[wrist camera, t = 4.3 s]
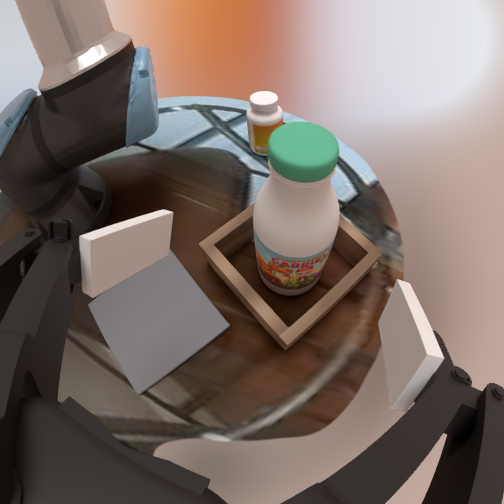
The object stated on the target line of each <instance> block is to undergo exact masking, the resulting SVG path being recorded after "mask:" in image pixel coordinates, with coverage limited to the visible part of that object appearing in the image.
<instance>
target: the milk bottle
mask: <svg viewBox="0 0 504 504" xmlns="http://www.w3.org/2000/svg"><path fill="white" fill-rule="evenodd" d="M338 155H339V146H338V142H337V140H336V138H335V137H334V135H333V134H332V133H330V132H329V131H328V130H327V129H325V128H323V127H321V126H319V125H316V124H313V123H309V122H291V123H287V124H284V125H282V126H280V127H278V128H277V129H275V130H274V131H273V132H272V134H271V136H270V138H269V141H268V158H269V161H268V164H269V168H270V171H271V173H270V176H269V177H268V179H267V180H266V181H265V183H264V184H263V186H262V187H261V189H260V191H259V193H258V195H257V197H256V201H255V204H254V211H253V228H254V238H255V248H256V256H257V264H258V270H259V274H260V277H261V279H262V281H263V282H264V284H265V285H266V286H267V287H268V288H269V289H271V290H272V291H274V292H276V293H278V294H281V295H286V296H295V295H300V294H303V293H305V292H307V291H308V290H310V289H311V288H312V287H313V286H314V285H315V284H316V283H317V281H318V279H319V277H320V275H321V273H322V271H323V268H324V266H325V263H326V261H327V258H328V256H329V253H330V250H331V248H332V245H333V242H334V239H335V236H336V233H337V229H338V224H339V204H338V199H337V196H336V194H335V191H334V189H333V187H332V184H331V178H332V177H333V175H334V172H335V167H336V164H337V160H338Z"/></svg>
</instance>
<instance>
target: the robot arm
mask: <svg viewBox="0 0 504 504" xmlns="http://www.w3.org/2000/svg"><path fill="white" fill-rule="evenodd" d="M15 1H16V3H17V6H18V9H19V11H20V14H21V17H22V19H23V22H24V24H25V27H26V29H27V31H28V34H29V36H30V39H31V41H32V43H33V46H34V48H35V49H36V52H37V54H38V57H39V59H40V61H41V63H42V65H43V67H44V69H43V74H42V77H41V80H40V82H39V85H38V88H39V90H40V92H41V95H40V96H37V92H36V91H34V90H33V89H31V88H30V89H27V90H25V91H23V92H22V93H21V94H19V95H18V96H17V97H16V98H15V99H14V100H13V101H12V102H11V103H10V104H9V105H8V106H7V107H6V108H5V109H4V110H3V111H2V112H1V113H0V189H1V190H2V191H3V192H4V193H5V194H6V195H7V196H8V197H9V198H10V199H11V200H12V201H13V202H14V203H15V204H16V205H17V206H18V207H19V208H20V209H21V210H23V211H24V212H25V213H26V214H27V215H28V216H29V218H30V220H31V222H32V224H33V226H34V228H35V229H33V228H30V229H26V230H24V231H22V232H20V233H18V234H17V235H16V236H14V237H13V238H11V239H10V240H8V241H7V242H5V243H4V244H3V245H1V246H0V504H227V503H226V502H225V501H224V500H223V499H222V498H220V497H219V496H218V495H217V494H216V493H214V492H213V491H211V490H210V489H208V485H209V482H210V479H208V478H206V477H204V476H201V475H199V474H196V473H194V472H191V471H190V470H187V469H185V468H183V467H181V466H179V465H177V464H175V463H173V462H170V461H168V460H164V459H161V458H157V457H154V456H151V455H147V454H144V453H141V452H138V451H135V450H132V449H129V448H127V447H125V446H123V445H122V444H121V443H120V442H119V441H118V440H117V439H116V438H115V437H114V436H113V435H112V434H111V433H110V432H109V430H108V429H107V428H106V427H105V426H104V425H103V424H102V423H101V421H100V420H99V419H98V418H97V417H96V416H95V415H93V414H92V413H90V412H89V411H88V410H86V409H85V408H84V407H82V406H81V405H80V404H79V403H77V402H76V401H75V400H74V399H72V398H71V397H70V396H69V397H68V398H67V399H66V400H65V401H64V402H63V403H61V402H59V401H58V387H59V378H60V370H61V363H62V357H63V351H64V345H65V339H66V334H67V329H68V324H69V320H70V315H71V311H72V306H73V302H74V298H75V294H76V283H77V282H79V281H81V282H82V292H84V293H85V294H87V295H89V296H90V297H92V298H94V297H95V296H97V295H99V294H100V293H102V292H104V291H106V290H107V289H109V288H111V287H112V286H114V285H116V284H118V283H119V282H121V281H123V280H125V279H126V278H128V277H130V276H132V275H133V274H135V273H137V272H139V271H140V270H142V269H144V268H146V267H148V266H149V265H151V264H153V263H155V262H157V261H158V260H160V259H162V258H164V257H166V256H167V255H169V246H170V237H171V228H172V220H173V212H171V211H167V210H164V209H163V210H159V211H156V212H152V213H149V214H146V215H142V216H139V217H136V218H132V219H129V220H126V221H123V222H120V223H116V224H113V225H110V226H107V227H104V228H102V226H103V225H104V223H105V221H106V219H107V217H108V215H109V212H110V209H111V205H112V193H111V189H110V187H109V186H108V184H107V183H106V182H105V180H104V179H103V178H102V177H101V176H100V175H99V174H97V173H96V172H94V171H92V170H91V169H89V168H88V167H86V166H85V165H83V164H85V163H87V162H89V161H91V160H94V159H96V158H98V157H101V156H103V155H105V154H108V153H110V152H113V151H115V150H118V149H120V148H123V147H125V146H126V148H128V147H130V145H131V144H133V143H136V142H138V141H141V140H143V139H145V138H148V137H150V136H152V135H153V134H154V133H155V132H156V130H157V128H158V124H159V112H158V102H157V93H156V86H155V78H154V71H153V64H152V60H151V56H150V50H149V48H148V47H141V46H140V47H137V49H135V48H134V45H133V43H132V39H131V37H130V35H127V34H124V33H122V32H118V31H115V29H114V28H113V27H112V24H111V20H110V18H109V14H108V11H107V8H106V5H105V1H104V0H15ZM20 264H22V271H23V273H22V274H21V273H20ZM378 324H379V330H380V336H381V342H382V349H383V355H384V362H385V370H386V378H387V387H388V397H389V408H390V409H393V410H399V411H404V412H406V411H407V410H408V408H409V407H410V406H411V405H412V403H413V402H414V403H415V404H414V405H413V406H412V407H411V408H410V409H409V410H408V411H407V412H406V414H404V415H403V416H402V417H401V418H400V419H399V420H398V421H397V422H396V423H395V424H394V425H393V426H392V427H391V428H390V429H389V430H388V431H387V432H385V433H384V434H383V435H382V436H381V437H380V438H379V439H378V440H377V441H375V442H374V443H373V444H372V445H371V446H370V447H368V448H367V449H366V450H365V451H363V452H362V453H361V454H360V455H358V456H357V457H356V458H355V459H353V460H352V461H351V462H349V463H348V464H347V465H345V466H344V467H343V468H341V469H340V470H338V471H337V472H336V473H334V474H333V475H331V476H330V477H329V478H327V479H326V480H324V481H322V482H321V483H316V484H314V485H312V486H311V487H309V488H307V489H306V490H304V491H302V492H300V493H299V494H297V495H295V496H294V497H292V498H290V499H288V500H286V501H285V502H283V503H281V504H385V503H386V502H387V501H388V500H389V499H390V498H391V497H392V496H393V495H394V494H395V492H397V490H398V489H399V488H400V487H401V486H402V485H403V484H404V483H405V482H406V481H407V480H408V478H409V477H410V476H411V475H412V474H413V473H414V471H415V470H416V469H417V467H418V466H419V465H420V464H421V462H422V461H423V460H424V459H425V458H426V456H427V455H428V454H429V452H430V451H431V450H432V448H433V447H434V445H435V444H436V443H437V441H438V440H439V438H440V437H441V436H442V434H443V433H445V434H447V438H446V441H445V444H444V448H443V451H442V454H441V457H440V460H439V463H438V465H437V468H436V471H435V473H434V476H433V479H432V481H431V484H430V486H429V488H428V491H427V493H426V495H425V498H424V500H423V502H422V504H501V502H502V498H503V493H504V389H503V387H501V386H499V385H497V384H495V383H489V384H488V385H487V386H486V387H485V389H484V390H483V391H480V390H477V389H475V388H473V387H471V385H472V381H471V378H470V376H469V375H468V374H467V373H466V372H465V371H464V370H463V369H461V368H459V367H457V366H454V365H453V363H452V360H451V358H450V355H449V353H448V352H447V349H446V347H445V344H444V342H443V340H442V338H441V337H440V336H439V334H438V333H437V332H436V331H433V330H432V329H431V327H430V324H429V322H428V320H427V318H426V315H425V313H424V311H423V309H422V307H421V305H420V303H419V301H418V299H417V297H416V295H415V293H414V291H413V289H412V287H411V285H410V284H409V283H408V282H404V281H401V280H398V279H397V281H396V283H395V286H394V288H393V291H392V293H391V295H390V298H389V300H388V302H387V304H386V307H385V309H384V311H383V313H382V315H381V318H380V320H379V322H378Z"/></svg>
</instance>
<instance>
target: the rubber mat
mask: <svg viewBox="0 0 504 504" xmlns="http://www.w3.org/2000/svg"><path fill="white" fill-rule="evenodd" d="M88 306H89V308H90V310H91V312H92V314H93V316H94V318H95V320H96V322H97V324H98V326H99V328H100V330H101V332H102V334H103V336H104V338H105V340H106V342H107V344H108V346H109V347H110V349H111V351H112V353H113V355H114V356H115V358H116V360H117V362H118V363H119V365H120V367H121V368H122V370H123V372H124V373H125V375H126V377H127V378H128V380H129V381H130V383H131V385H132V386H133V388H134V389H135V391H136V392H137V394H138V395H140V394H142V393H143V392H144V391H146V390H147V389H149V388H150V387H151V386H153V385H154V384H156V383H157V382H158V381H160V380H161V379H162V378H164V377H165V376H166V375H168V374H169V373H170V372H172V371H173V370H175V369H176V368H177V367H179V366H180V365H181V364H183V363H184V362H185V361H186V360H188V359H189V358H190V357H192V356H193V355H194V354H196V353H197V352H198V351H200V350H201V349H202V348H203V347H205V346H206V345H207V344H209V343H210V342H211V341H213V340H214V339H215V338H216V337H218V336H219V335H220V334H221V333H223V332H224V331H225V330H227V329H228V328H229V327H230V325H229V324H228V322H227V321H226V320H225V319H224V318H223V316H222V315H221V314H220V313H219V311H218V310H217V309H216V308H215V306H214V305H213V304H212V303H211V302H210V300H209V299H208V298H207V296H206V295H205V294H204V293H203V291H202V290H201V289H200V288H199V286H198V285H197V284H196V283H195V281H194V280H193V279H192V277H191V276H190V275H189V273H188V272H187V271H186V270H185V268H184V267H183V266H182V264H181V263H180V262H179V260H178V259H177V258H176V256H175V255H174V254H173V252H172V251H171V250H170V248H169V255H167V256H166V257H164V258H162V259H160V260H158V261H157V262H155V263H153V264H151V265H149V266H148V267H146V268H144V269H142V270H140V271H139V272H137V273H135V274H133V275H132V276H130V277H128V278H126V279H125V280H123V281H121V282H119V283H118V284H116V285H114V286H112V287H111V288H109V289H107V290H106V291H104V292H103V293H102V294H101V295H99V296H98V297H97V298H96V299H95V300H93V301H92V302H91V303H90V304H89V305H88Z"/></svg>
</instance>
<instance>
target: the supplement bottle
mask: <svg viewBox="0 0 504 504" xmlns="http://www.w3.org/2000/svg"><path fill="white" fill-rule="evenodd" d="M247 125H248V135H249V144H250V148H251V150H252V151H253V152H254V153H256V154H258V155H262V156H268V141H269V138H270V136H271V134H272V132H273V131H274V130H275V129H277V128H278V127H280V126H282V125H283V112H282V109H281V108H280V107H279V106H278V97H277V95H276V94H275V93H272V92H268V91H260V92H256V93H254V94H252V95H251V97H250V107H249V108H248V110H247Z"/></svg>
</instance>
